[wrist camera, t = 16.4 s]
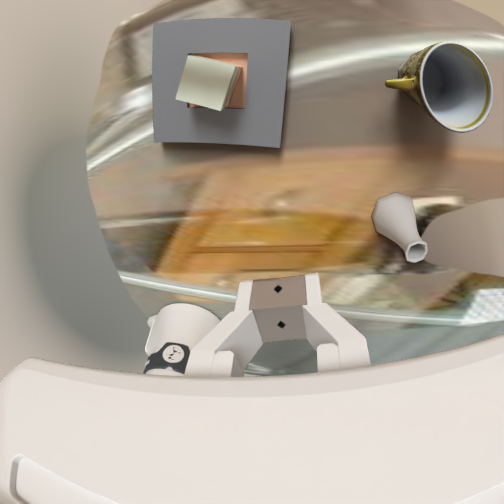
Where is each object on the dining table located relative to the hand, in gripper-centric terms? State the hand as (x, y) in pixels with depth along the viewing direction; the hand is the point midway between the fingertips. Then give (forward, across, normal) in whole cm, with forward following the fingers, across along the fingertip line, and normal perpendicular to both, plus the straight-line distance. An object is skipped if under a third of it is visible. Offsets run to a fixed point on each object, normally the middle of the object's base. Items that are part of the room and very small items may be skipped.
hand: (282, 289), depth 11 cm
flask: (+29, -15, +14) cm, 36 cm away
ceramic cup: (+29, -18, -5) cm, 35 cm away
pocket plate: (+29, +6, -8) cm, 31 cm away
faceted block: (+28, +6, -8) cm, 30 cm away
